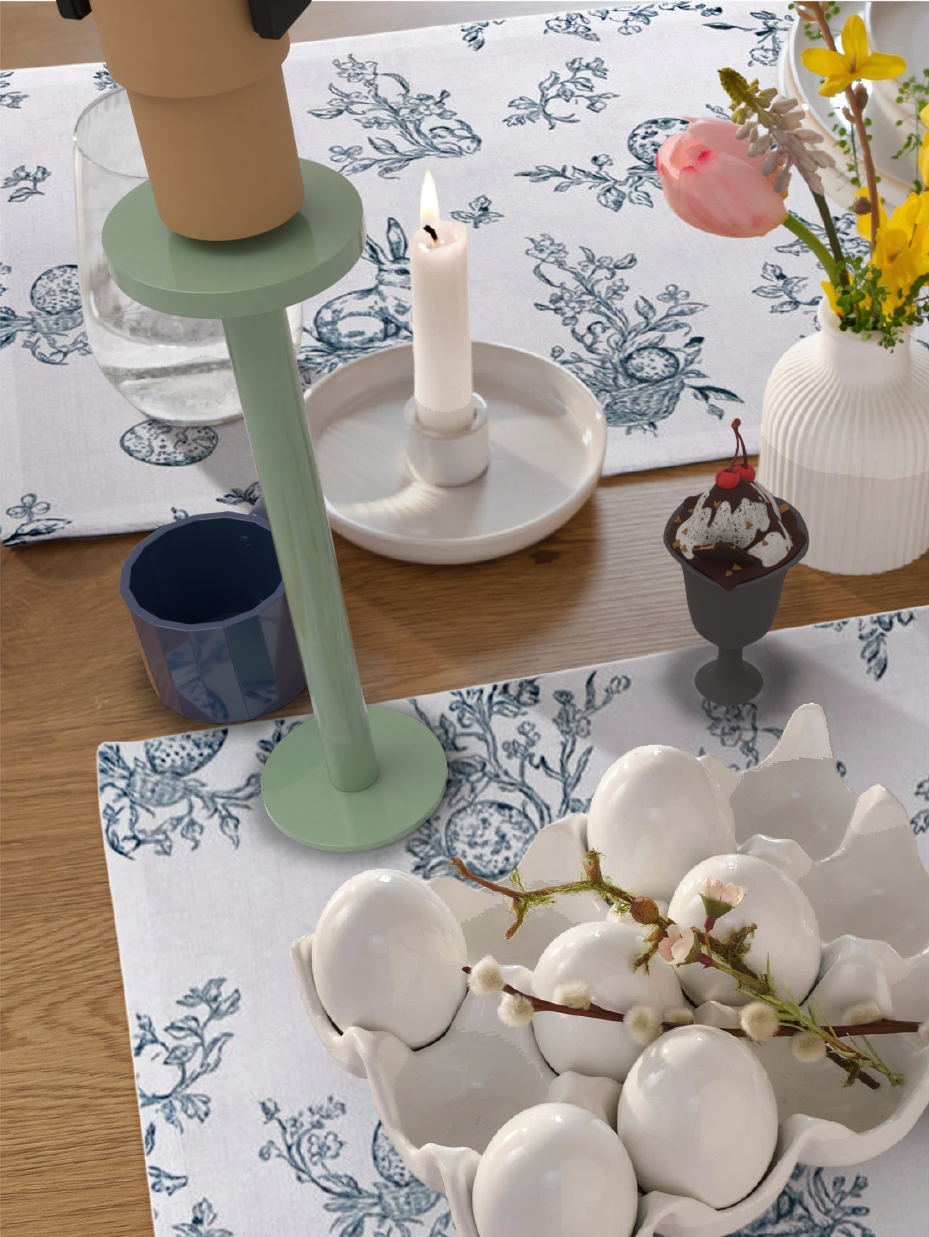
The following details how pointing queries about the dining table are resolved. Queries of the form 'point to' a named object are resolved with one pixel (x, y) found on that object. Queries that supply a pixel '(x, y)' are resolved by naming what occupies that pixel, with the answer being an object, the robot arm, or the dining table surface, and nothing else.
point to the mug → (213, 617)
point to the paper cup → (206, 113)
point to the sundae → (734, 570)
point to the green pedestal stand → (293, 502)
